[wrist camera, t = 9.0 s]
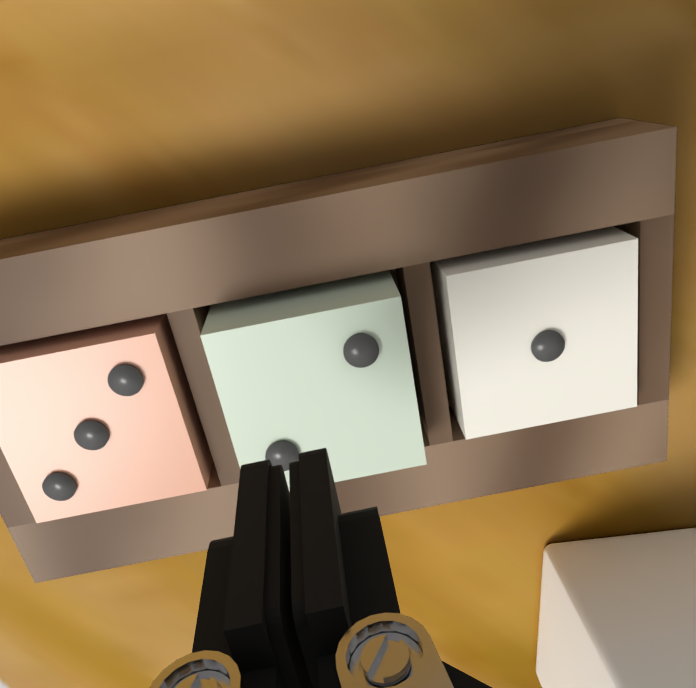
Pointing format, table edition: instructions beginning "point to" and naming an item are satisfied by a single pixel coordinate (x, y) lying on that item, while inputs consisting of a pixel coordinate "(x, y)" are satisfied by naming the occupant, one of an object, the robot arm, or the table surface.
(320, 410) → the button two sage
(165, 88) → the table surface
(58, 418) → the button three terracotta
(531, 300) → the button one cream
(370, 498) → the button board
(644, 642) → the medicine bottle
